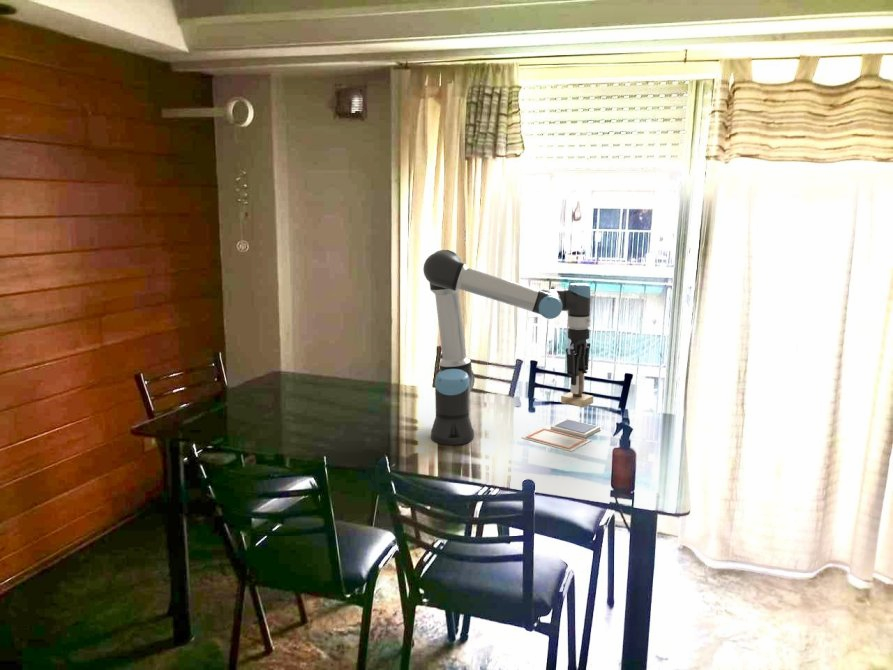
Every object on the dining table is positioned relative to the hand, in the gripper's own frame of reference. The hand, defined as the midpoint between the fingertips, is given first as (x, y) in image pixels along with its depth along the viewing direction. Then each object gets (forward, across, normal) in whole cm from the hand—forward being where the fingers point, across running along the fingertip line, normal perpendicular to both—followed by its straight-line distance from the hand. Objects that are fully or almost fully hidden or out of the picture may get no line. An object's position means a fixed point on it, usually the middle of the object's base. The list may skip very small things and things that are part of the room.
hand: (577, 391), depth 236 cm
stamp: (+4, 0, 0) cm, 4 cm away
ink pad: (+14, 0, 0) cm, 14 cm away
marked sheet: (+14, -13, 0) cm, 19 cm away
